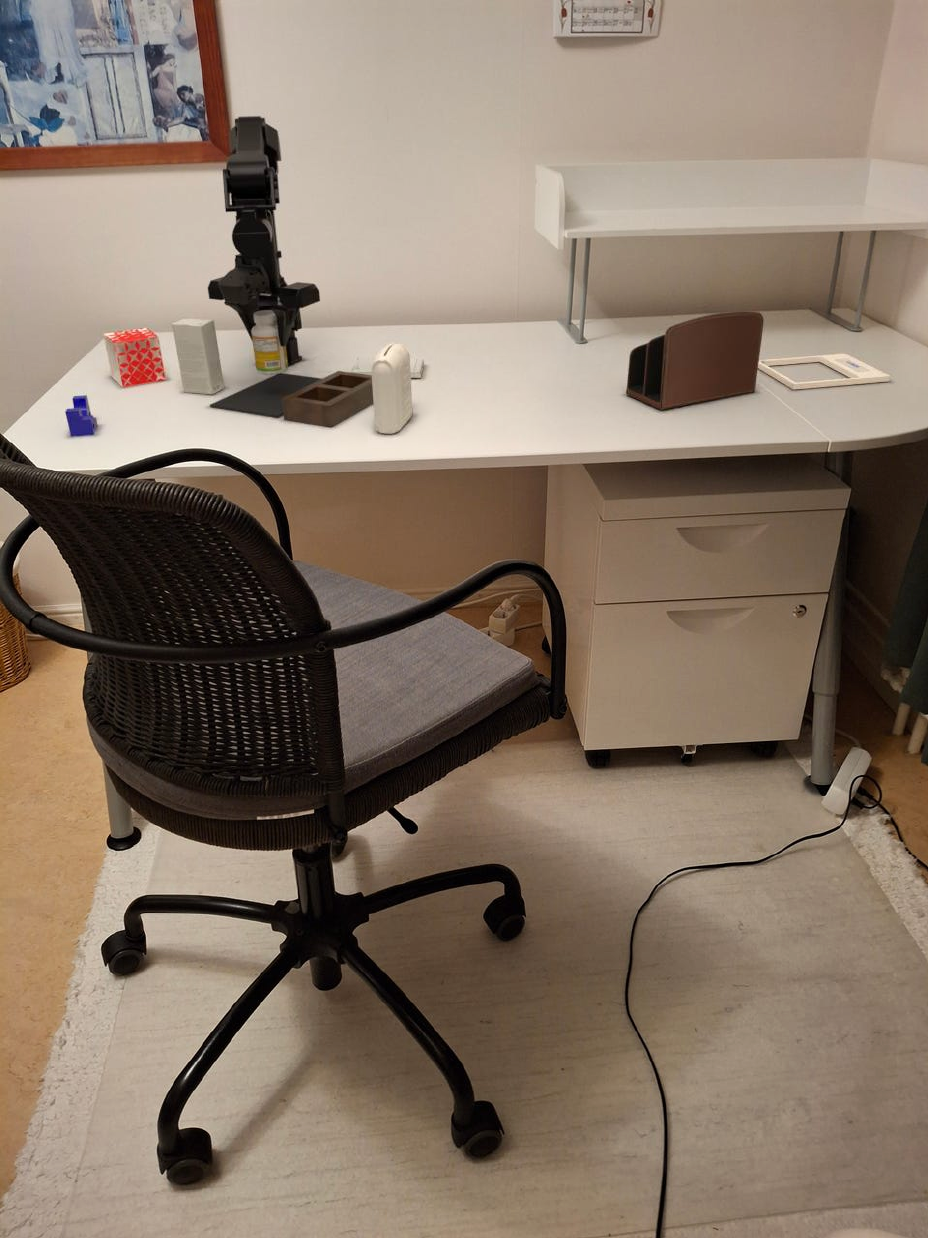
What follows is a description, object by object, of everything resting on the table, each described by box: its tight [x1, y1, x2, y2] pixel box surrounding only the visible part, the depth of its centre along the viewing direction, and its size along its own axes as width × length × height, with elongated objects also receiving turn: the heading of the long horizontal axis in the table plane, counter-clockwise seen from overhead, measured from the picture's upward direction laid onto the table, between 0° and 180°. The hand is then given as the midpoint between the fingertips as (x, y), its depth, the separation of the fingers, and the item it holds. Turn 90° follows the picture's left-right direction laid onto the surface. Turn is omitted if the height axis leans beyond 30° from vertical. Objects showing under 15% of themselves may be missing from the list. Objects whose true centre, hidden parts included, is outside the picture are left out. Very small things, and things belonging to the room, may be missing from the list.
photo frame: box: [758, 353, 891, 390], centre depth 171 cm, size 15×1×18 cm
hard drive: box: [351, 358, 425, 379], centre depth 177 cm, size 2×8×12 cm
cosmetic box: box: [171, 317, 225, 395], centre depth 167 cm, size 6×4×12 cm
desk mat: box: [209, 372, 322, 419], centre depth 167 cm, size 14×20×1 cm
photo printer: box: [372, 342, 413, 435], centre depth 150 cm, size 10×4×12 cm, turn 168°
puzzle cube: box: [102, 327, 167, 388], centre depth 175 cm, size 8×8×8 cm
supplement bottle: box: [251, 310, 289, 376], centre depth 162 cm, size 5×5×10 cm
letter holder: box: [625, 311, 765, 411], centre depth 160 cm, size 10×20×14 cm, turn 117°
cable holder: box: [64, 394, 99, 437], centre depth 154 cm, size 8×4×4 cm, turn 10°
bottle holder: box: [282, 370, 374, 428], centre depth 160 cm, size 9×17×4 cm, turn 154°
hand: (269, 344), depth 162 cm, fingers closed on supplement bottle, 5 cm apart
